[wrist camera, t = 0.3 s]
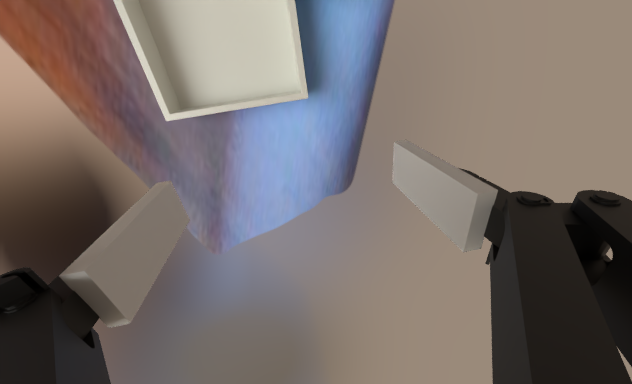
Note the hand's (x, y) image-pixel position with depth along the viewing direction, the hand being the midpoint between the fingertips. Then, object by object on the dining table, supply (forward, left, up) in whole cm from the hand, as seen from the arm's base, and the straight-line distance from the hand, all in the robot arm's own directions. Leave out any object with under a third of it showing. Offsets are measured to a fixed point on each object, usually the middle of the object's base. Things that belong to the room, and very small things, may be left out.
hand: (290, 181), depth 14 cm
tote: (-13, -6, -27) cm, 30 cm away
